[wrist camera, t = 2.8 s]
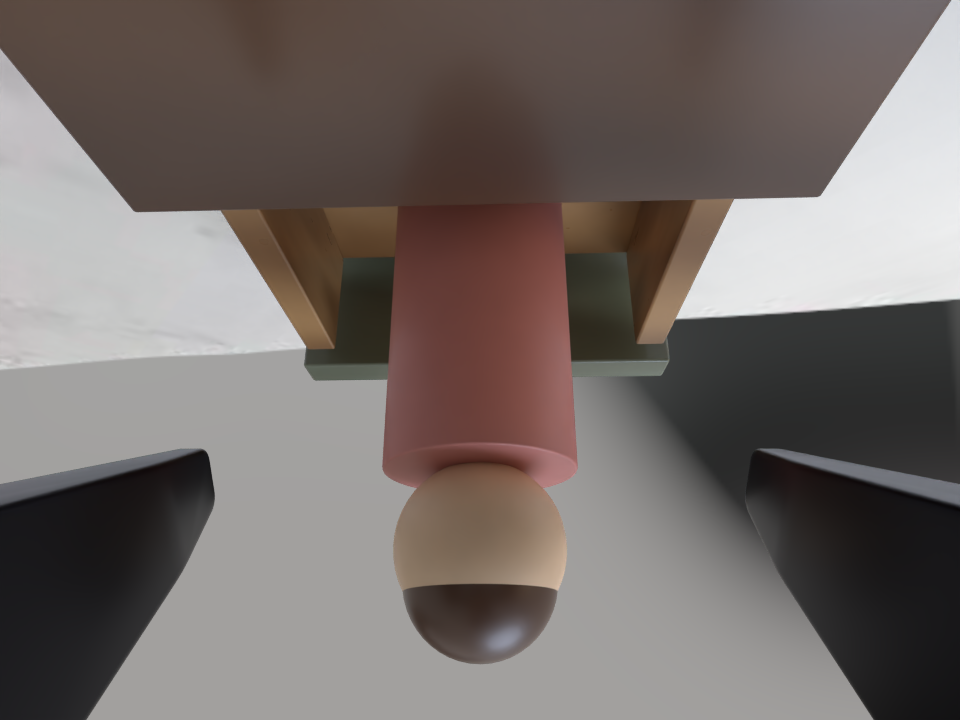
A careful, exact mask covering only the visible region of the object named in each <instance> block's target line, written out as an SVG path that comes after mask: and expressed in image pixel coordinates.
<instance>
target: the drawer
mask: <svg viewBox="0 0 960 720" xmlns="http://www.w3.org/2000/svg"><path fill="white" fill-rule="evenodd" d="M733 200H734V199H707V200H662V201H617V202H572V203H562V218H563V234H564V251H565V267H566V284H567V300H568V317H569V333H570V350H571V366H572V377H597V376H660V375H662V373H663V372H664V370H665V368H666V366H667V364H668V362H669V360H670V358H669V350H668V342H667V335H668V333H669V331H670V329H671V327H672V325H673V323H674V321H675V319H676V317H677V315H678V312H679V310H680V308H681V306H682V304H683V302H684V300H685V298H686V296H687V294H688V292H689V290H690V288H691V286H692V284H693V282H694V280H695V278H696V276H697V274H698V272H699V270H700V267H701V265H702V263H703V261H704V259H705V257H706V255H707V253H708V251H709V249H710V247H711V245H712V243H713V241H714V239H715V237H716V235H717V233H718V231H719V229H720V227H721V225H722V223H723V220H724V218H725V216H726V214H727V212H728V210H729V208H730V206H731V204H732V202H733ZM221 212H222V214H223V215H224V217H225V218H226V220H227V221H228V223H229V225H230V226H231V228H232V229H233V231H234V233H235V234H236V236H237V237H238V239H239V241H240V242H241V244H242V245H243V247H244V248H245V250H246V252H247V253H248V255H249V256H250V258H251V260H252V261H253V263H254V264H255V266H256V268H257V269H258V271H259V272H260V274H261V275H262V277H263V279H264V280H265V282H266V283H267V285H268V287H269V288H270V290H271V291H272V293H273V295H274V296H275V298H276V299H277V301H278V302H279V304H280V306H281V307H282V309H283V310H284V312H285V314H286V315H287V317H288V318H289V320H290V322H291V323H292V325H293V326H294V328H295V329H296V331H297V333H298V334H299V336H300V337H301V339H302V341H303V342H304V344H305V345H306V353H305V362H304V366H305V368H306V369H307V371H308V372H309V374H310V375H311V376H312V378H313V379H314V380H383V379H388V365H389V348H390V331H391V315H392V298H393V281H394V265H395V248H396V231H397V215H398V206H392V207H347V208H302V209H257V210H221Z"/></svg>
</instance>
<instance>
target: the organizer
mask: <svg viewBox="0 0 960 720" xmlns="http://www.w3.org/2000/svg"><path fill="white" fill-rule="evenodd" d="M950 1H951V0H0V49H1V50H2V51H3V53H4V54H5V55H6V56H7V57H8V59H9V60H10V61H11V62H12V64H13V65H14V66H15V67H16V68H17V70H18V71H19V72H20V73H21V74H22V76H23V77H24V78H25V79H26V81H27V82H28V83H29V84H30V85H31V87H32V88H33V89H34V90H35V92H36V93H37V94H38V95H39V96H40V98H41V99H42V100H43V101H44V102H45V104H46V105H47V106H48V107H49V109H50V110H51V111H52V112H53V113H54V115H55V116H56V117H57V118H58V120H59V121H60V122H61V123H62V124H63V126H64V127H65V128H66V129H67V130H68V132H69V133H70V134H71V135H72V137H73V138H74V139H75V140H76V141H77V143H78V144H79V145H80V146H81V147H82V149H83V150H84V151H85V152H86V154H87V155H88V156H89V157H90V158H91V160H92V161H93V162H94V163H95V165H96V166H97V167H98V168H99V169H100V171H101V172H102V173H103V174H104V175H105V177H106V178H107V179H108V180H109V182H110V183H111V184H112V185H113V186H114V188H115V189H116V190H117V191H118V192H119V194H120V195H121V196H122V197H123V199H124V200H125V201H126V202H127V203H128V205H129V206H130V207H131V208H132V210H133V211H135V212H167V211H212V210H257V209H302V208H347V207H392V206H437V205H482V204H527V203H572V202H617V201H662V200H707V199H752V198H797V197H819V196H820V195H821V194H822V192H823V191H824V189H825V188H826V187H827V185H828V184H829V182H830V181H831V179H832V178H833V176H834V175H835V173H836V172H837V170H838V169H839V167H840V166H841V164H842V163H843V161H844V160H845V158H846V157H847V155H848V154H849V152H850V151H851V149H852V148H853V146H854V145H855V143H856V142H857V140H858V139H859V137H860V136H861V134H862V133H863V131H864V130H865V128H866V127H867V125H868V124H869V122H870V121H871V119H872V118H873V116H874V115H875V113H876V112H877V110H878V109H879V107H880V106H881V104H882V103H883V101H884V100H885V98H886V97H887V95H888V94H889V92H890V91H891V89H892V88H893V86H894V85H895V83H896V82H897V80H898V79H899V78H900V76H901V75H902V73H903V72H904V70H905V69H906V67H907V66H908V64H909V63H910V61H911V60H912V58H913V57H914V55H915V54H916V52H917V51H918V49H919V48H920V46H921V45H922V43H923V42H924V40H925V39H926V37H927V36H928V34H929V33H930V31H931V30H932V28H933V27H934V25H935V24H936V22H937V21H938V19H939V18H940V16H941V15H942V13H943V12H944V10H945V9H946V7H947V6H948V4H949V3H950Z"/></svg>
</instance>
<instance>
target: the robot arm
mask: <svg viewBox="0 0 960 720" xmlns="http://www.w3.org/2000/svg"><path fill="white" fill-rule="evenodd" d="M214 500H215V493H214V486H213V480H212V474H211V467H210V461H209V457H208V454H207V452H206V451H205V450H203V449H178V450H172V451H167V452H162V453H157V454H152V455H147V456H142V457H137V458H132V459H126V460H121V461H116V462H111V463H106V464H101V465H96V466H91V467H86V468H81V469H76V470H71V471H66V472H60V473H55V474H50V475H45V476H40V477H35V478H30V479H25V480H20V481H15V482H9V483H4V484H0V720H86V719H87V718H88V716H89V715H90V713H91V712H92V710H93V709H94V707H95V706H96V704H97V703H98V701H99V700H100V698H101V696H102V695H103V693H104V692H105V690H106V689H107V687H108V686H109V684H110V683H111V681H112V680H113V678H114V677H115V675H116V673H117V672H118V670H119V669H120V667H121V666H122V664H123V663H124V661H125V660H126V658H127V657H128V655H129V653H130V652H131V650H132V649H133V647H134V646H135V644H136V643H137V641H138V640H139V638H140V637H141V635H142V633H143V632H144V630H145V629H146V627H147V626H148V624H149V623H150V621H151V620H152V618H153V616H154V615H155V614H156V612H157V610H158V609H159V607H160V606H161V604H162V603H163V601H164V600H165V598H166V597H167V595H168V593H169V592H170V590H171V589H172V587H173V586H174V584H175V583H176V581H177V579H178V578H179V576H180V575H181V573H182V571H183V569H184V567H185V566H186V564H187V562H188V560H189V558H190V556H191V554H192V552H193V549H194V547H195V545H196V543H197V541H198V539H199V537H200V535H201V533H202V531H203V529H204V526H205V524H206V522H207V520H208V518H209V516H210V514H211V512H212V509H213V506H214ZM745 500H746V506H747V509H748V512H749V514H750V516H751V518H752V520H753V522H754V524H755V526H756V529H757V531H758V533H759V535H760V537H761V539H762V541H763V543H764V545H765V547H766V549H767V552H768V554H769V556H770V558H771V560H772V562H773V564H774V566H775V568H776V569H777V571H778V573H779V575H780V576H781V578H782V579H783V581H784V583H785V584H786V586H787V587H788V589H789V590H790V592H791V594H792V595H793V597H794V598H795V600H796V601H797V603H798V604H799V606H800V607H801V609H802V610H803V612H804V613H805V615H806V617H807V618H808V620H809V621H810V623H811V624H812V626H813V627H814V629H815V630H816V632H817V633H818V635H819V637H820V638H821V640H822V641H823V643H824V644H825V646H826V647H827V649H828V650H829V652H830V653H831V655H832V656H833V658H834V660H835V661H836V663H837V664H838V666H839V667H840V669H841V670H842V672H843V673H844V675H845V676H846V678H847V679H848V681H849V683H850V684H851V686H852V687H853V689H854V690H855V692H856V693H857V695H858V696H859V698H860V699H861V701H862V702H863V704H864V706H865V707H866V709H867V710H868V712H869V713H870V715H871V716H872V718H873V719H874V720H960V484H956V483H951V482H946V481H941V480H936V479H930V478H925V477H920V476H915V475H910V474H905V473H900V472H894V471H890V470H885V469H880V468H874V467H869V466H864V465H859V464H854V463H849V462H844V461H839V460H834V459H828V458H823V457H818V456H813V455H808V454H803V453H798V452H793V451H788V450H783V449H757V450H755V451H754V452H753V454H752V457H751V461H750V467H749V474H748V480H747V486H746V493H745Z"/></svg>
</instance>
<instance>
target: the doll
mask: <svg viewBox="0 0 960 720" xmlns="http://www.w3.org/2000/svg"><path fill="white" fill-rule="evenodd" d="M382 467H383V471H384V473H385V474H386V475H387V476H388V477H389V478H390V479H392V480H394V481H396V482H398V483H401V484H404V485H407V486H410V487H414V488H417V489H416V490H415V491H414V493H413V494H412V495H411V497H410V498H409V500H408V501H407V503H406V505H405V506H404V508H403V510H402V512H401V515H400V517H399V520H398V522H397V526H396V530H395V535H394V544H393V552H394V564H395V571H396V574H397V578H398V582H399V584H400V586H401V589H402V591H403V596H404V602H405V605H406V609H407V612H408V614H409V617H410V619H411V621H412V623H413V625H414V626H415V628H416V630H417V631H418V632H419V634H420V635H421V636H422V637H423V639H424V640H426V642H428V643H429V644H430V645H431V646H432V647H433V648H435V649H436V650H437V651H439V652H440V653H442V654H444V655H446V656H447V657H449V658H452V659H455V660H457V661H461V662H466V663H471V664H489V663H495V662H500V661H503V660H506V659H508V658H511V657H513V656H515V655H516V654H518V653H520V652H522V651H523V650H524V649H525V648H527V647H528V646H530V645H531V644H532V643H533V642H534V641H535V640H536V639H537V638H538V636H539V635H540V634H541V632H542V631H543V630H544V628H545V627H546V625H547V623H548V621H549V619H550V617H551V615H552V612H553V610H554V606H555V603H556V598H557V591H558V589H559V587H560V584H561V582H562V579H563V575H564V572H565V566H566V559H567V543H566V534H565V530H564V526H563V522H562V519H561V517H560V514H559V512H558V510H557V508H556V506H555V504H554V502H553V501H552V499H551V498H550V497H549V495H548V494H547V492H546V491H545V490H544V489H543V488H546V487H550V486H553V485H556V484H559V483H562V482H564V481H566V480H568V479H570V478H571V477H572V476H573V475H574V474H575V473H576V471H577V468H578V465H577V449H576V433H575V416H574V399H573V383H572V366H571V350H570V333H569V317H568V300H567V284H566V267H565V251H564V234H563V218H562V203H527V204H482V205H437V206H398V215H397V231H396V248H395V265H394V281H393V298H392V315H391V331H390V348H389V365H388V382H387V398H386V415H385V432H384V448H383V466H382Z"/></svg>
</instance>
